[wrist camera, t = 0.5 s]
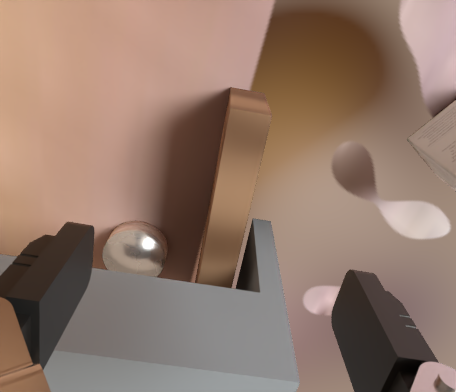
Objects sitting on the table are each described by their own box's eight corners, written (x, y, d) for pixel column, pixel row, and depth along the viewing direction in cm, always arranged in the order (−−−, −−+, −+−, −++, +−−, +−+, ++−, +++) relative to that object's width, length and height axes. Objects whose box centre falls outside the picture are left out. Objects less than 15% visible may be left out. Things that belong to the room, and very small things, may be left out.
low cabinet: (40, 183, 30) (-110, 328, 17) (270, 221, 32) (299, 382, 18) (44, 283, 35) (-72, 459, 21) (246, 312, 36) (255, 494, 23)
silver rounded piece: (110, 215, 32) (103, 228, 30) (171, 225, 32) (167, 238, 30) (108, 264, 34) (101, 278, 32) (164, 272, 34) (161, 287, 33)
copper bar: (230, 86, 27) (230, 108, 22) (264, 92, 27) (272, 115, 22) (194, 285, 35) (187, 337, 30) (220, 289, 35) (218, 341, 30)
